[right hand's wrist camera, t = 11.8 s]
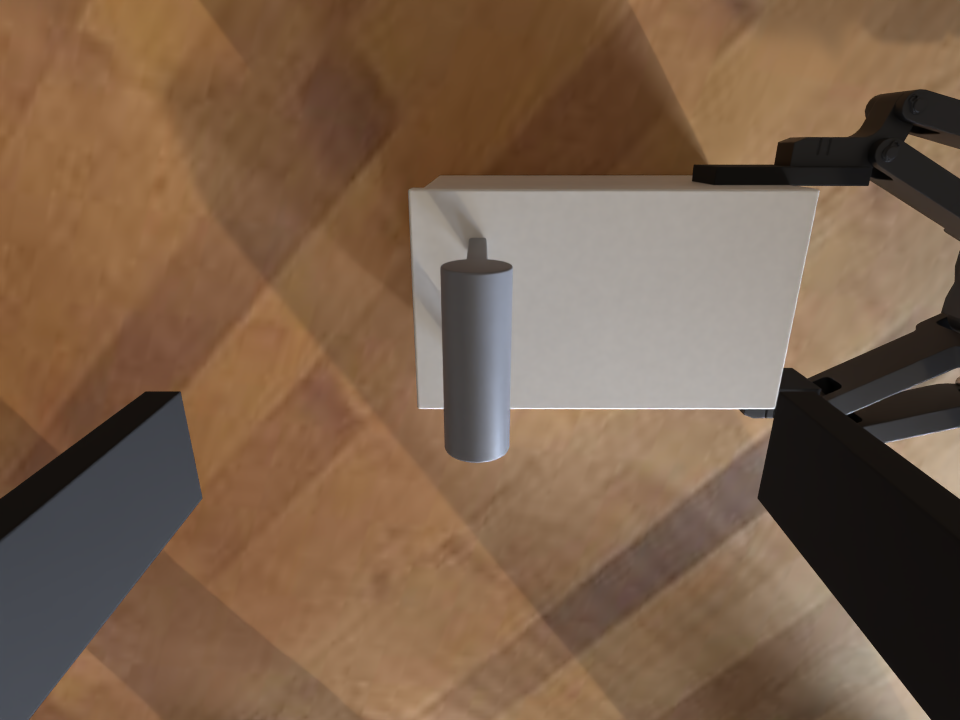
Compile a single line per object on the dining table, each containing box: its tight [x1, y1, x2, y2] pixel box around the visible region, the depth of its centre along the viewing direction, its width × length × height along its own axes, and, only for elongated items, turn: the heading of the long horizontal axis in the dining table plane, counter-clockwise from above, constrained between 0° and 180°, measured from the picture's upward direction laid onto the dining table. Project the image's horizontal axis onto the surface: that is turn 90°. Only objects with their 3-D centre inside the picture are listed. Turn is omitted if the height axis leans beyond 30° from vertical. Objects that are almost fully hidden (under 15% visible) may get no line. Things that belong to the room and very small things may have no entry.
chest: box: [424, 175, 806, 188], centre depth 29 cm, size 15×9×10 cm, turn 90°
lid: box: [408, 188, 819, 463], centre depth 20 cm, size 16×9×8 cm, turn 90°
